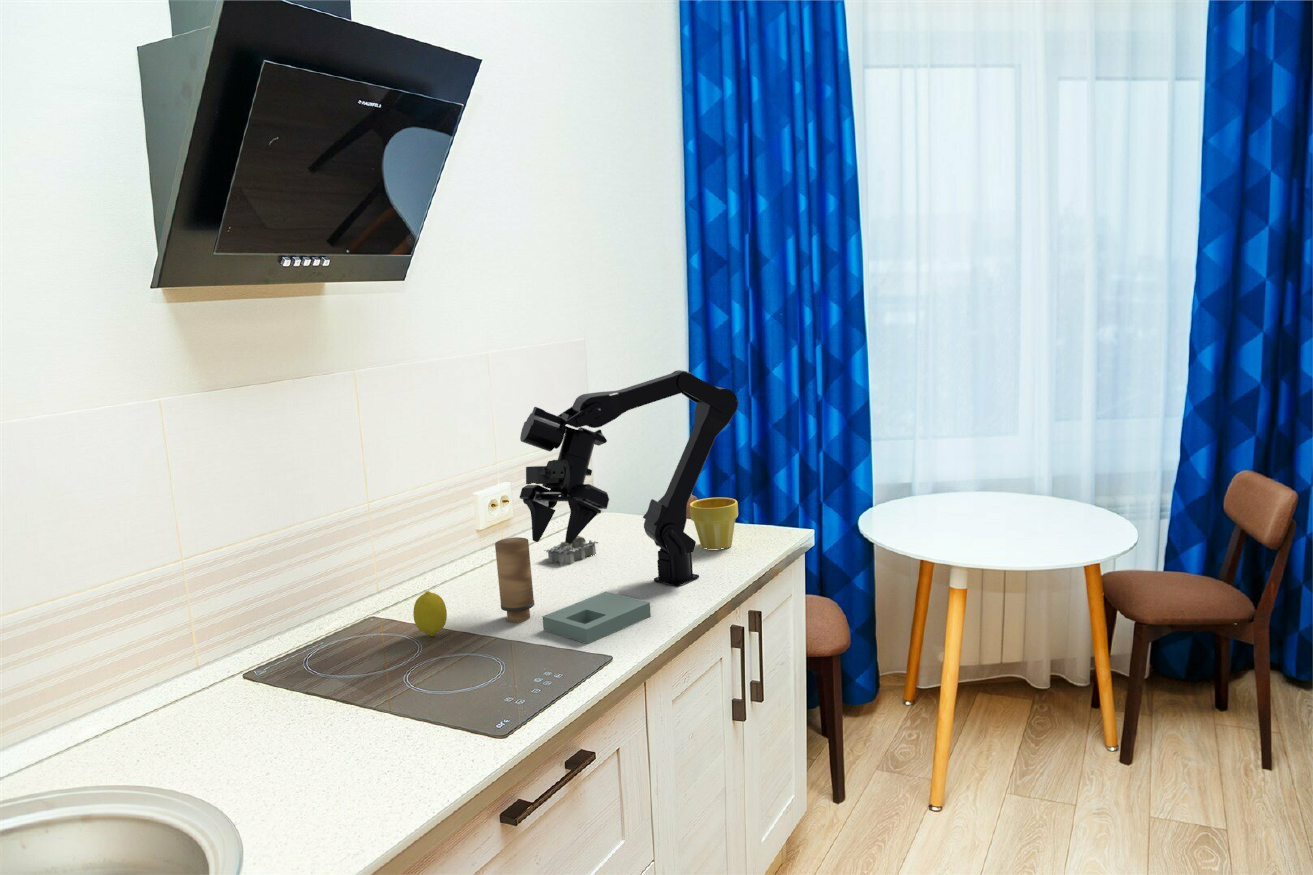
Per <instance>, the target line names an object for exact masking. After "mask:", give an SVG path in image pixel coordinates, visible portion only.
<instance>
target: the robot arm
mask: <svg viewBox="0 0 1313 875" xmlns="http://www.w3.org/2000/svg"><path fill="white" fill-rule="evenodd" d="M680 394H682V395H683V396H684V397H686V398H687V399H689V400H691V402H694V403H696V404H695V409H694V420H693V429H692V430H691V433H690V435H689V437H688V440H687V443H686V445H685V448H684V449H683V451H682V454H681V456H680V459H679V461H678V464H677V466H676V468H675V470H674V472H673V475H672V477H671V479H670V482H669V485H668V486H667V489H666V491H665V493H664V495H663V496H662V497H661V498H660V499H659V500H657V501H656V500H655V499H654V498H651V500H650V502H649V505H648V509H647V511H646V513H645V514H644V515H643V516H642V519H644V523H643V530H644V532H645V534H646V535H647V536H648V538H649V539H651V540H653V541H654V544H655V546H656V547H659V550H657V558H658V559H657V561H656V562H657V573H658V575H657V576H656V577H653V582H657V583H662V584H665V585H670V586H674V587H680V586H683V585H685V584H687V583H689V582H692V581H694V580H696V579H699V578H700V575H699V574H696V573H694V572H693V571H694V570H693V557H692V553H694V551H695V547H696V543H697V542H696V540H694V539H693V538H692V537H690V535H689V534H687V533H686V532H685V528H686V524H687V515H688V512H687V510H688V504H689V500H690V499H691V496H692V494H693V491H694V489H695V487H696V484H697V482H698V480H699V477H700V475H701V473H702V471H703V468H704V465H705V463H706V462H707V459H708V456H709V454H710V452H711V449H712V446H713V445H714V442H715V440H716V437H717V436H718V435H719V434H720V433H721V432H722V431H723V430H725V428H726V427H727V426H728V425H729V423H730V422H731V420H732V418H733V417H734V415H735V414H736V413H737V410H738V407H739V400H738V398H737V395H736V394H735V393H734V392H733V390H731V389H728V388H724V387H719V386H714V385H713V384H710V383H708V382H706V381H704V380H703V379H700V378H699V377H697V376H695V375H693V373H691V372H690V371H686V370H681V369H677V370H674V371H673V372H671V373H669V374H666V375H662V376H659V377H655V378H653V379H649V380H647V381H646V380H645V381H643V382H640V383H637V384H634V385H631V386H628V387H625V388H621V389H619V390H618V389H617V390H611V391H596V392H590V393H588V392H587V393H583V394H580V395H579V396H577V397H576V398H575V400H574V402H573V405H571V407H569V408H567V409H566V410H564V411H563V412H561V413H560V414H558V415H555V414H554V413H550V412H548V411H546V410H544V409H542V408H540V407H537V406H534V407H533V410H532V412H531V413H530V414H529V415H528V416H527V419H526V421H524V423H523V425H522V428H521V432H520V439H519V440H520V442H521V443H524V444H527V445H530V446H532V447H534V448H535V447H536V448H539V449H541V450H544V451H546V452H552V451H553V450H554V449H556V450H557V449H559V448H560V449H559V454H558V457H557V459H552V460H548V461H547V464H546V465H542V466H541V465H540V466H539V465H536V466H535V465H534V466H533V465H532V466H531V465H530V466H525V486H523V487H521V491H520V493H519V499H520V500H522V502H523V504H525V505H526V506H527V508H528V509H529V511H530V521H531V535H532V538H531V539H532V541H533V542H535V543H538V542H540V540H541V538H542V536H543V534H544V533H545V531H546V529H547V527H548V525H549V523H550V522H551V520H552V518H553V516H554V514H555V512H556V509H554V508H555V507H556V506H557V504H558V502H567V503H568V507H569V509H570V513H569V514H570V515H569V519H568V524H567V528H566V534H565V539H564V540H565V541H564V542H566V543H568V544H571V543H572V542H573V541H574V539H575V538H576V537H577V536H580V535H579V534H580V533H582V532H583V530H584V529H585V528H586V527H587V525H588V524H590V522H591V521H593V519H594V518H595V517H596V516H597V515H598V514H601V513H602V510H607V509H608V505H609V503H610V502H609V501H610V497H609V495H608V492H606V491H605V490H602V489H600V488H599V487H596V486H595V485H592V484H589V483H585V480H586V476H589V477H590V476H592V472H593V470H592V469H590V468H589V465H590V461H591V458H592V454H593V450H594V446H601V445H603V444H606V443H607V442H608V439H607V438H606V437H605V436H604V434H603V431H602V430H601V429H597V428H601V427H604V426H605V425H607V424H609V423H611V422H613V421H614V420H616V419H617V418H619V417H621V415H623V414H625V413H626V412H628V411H631V410H633V409H637V408H639V407H643V406H645V405H649V404H652V403H655V402H658V401H661V400H663V399H668V398H671V397H673V396H676V395H677V396H678V395H680ZM567 425H568V426H567ZM585 426H587V427H588V428H594V429H597V430H595V431H592V430H589V429H587V428H584V427H585ZM576 428H577V429H576Z"/></svg>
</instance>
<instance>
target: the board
mask: <svg viewBox="0 0 1313 875" xmlns="http://www.w3.org/2000/svg"><path fill="white" fill-rule="evenodd" d="M651 612H652V611H651V602H649V601H646V600H641V599H638V598H633V597H629V596H625V595H622V594H617V593H613V592H610V591H603V592H600V593H599V594H597V595H593V596H591V597H587V598H585V599H584V600H581V601H578V602H576V603H573V604H571V605H568V606H566V607H563V608H560V609H558V610H555V611H553V612H550V613H547V614H545V615H542V617H541V618H542V625H543V631H544V632H547V633H551V634H555V635H558V636H560V637H564V638H568V639H571V640H574V641H577V642H581V643H584V644H587V645H588V644H591V643H593V642H595V641H598V640H600V639H602V638H604V637H606V636H609V635H612V634H614V633H616V632H618V631H621V630H623V629H625V628H627V627H630V626H633V625H634V624H636V623H638V622H640V621H643V620H645V619H647V618H650V617H652V614H651Z"/></svg>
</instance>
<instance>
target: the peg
mask: <svg viewBox="0 0 1313 875" xmlns="http://www.w3.org/2000/svg"><path fill="white" fill-rule="evenodd" d="M529 544H530V543H529V538H526V537H521V536H520V537H506V538H502V539H500V540H497V541H495V543H494V546H495V558H496V559H495V560H496V567H497V578H498V580H497V581H498V587H499V588H498V589H499V597H500V599H499V600H500V610H502V611H504V612H506V617H507V621H508V622H510V623H521V622H526V621H528V620H529V619H531V611H530V609H531V608H533V607H534V606H535V600H534V599H535V598H534V589H533V578H532V577H533V575H532V564H531V557H530V556H531V554H530V553H531V552H530V545H529Z"/></svg>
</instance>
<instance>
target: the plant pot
mask: <svg viewBox="0 0 1313 875" xmlns="http://www.w3.org/2000/svg"><path fill="white" fill-rule="evenodd" d="M689 516H690V520H691V521H692V522H693V524H694V526H695V530H696V533H697V537H698V540H699V543H700V547H701V549H703V548H707V549H721V548H727V549H729V548H728V547H730V546H731V545H733V538H734V537H733V536H734V532H735V524H736V519H737V518H738V516H739V504H738V501H737V500H736V499H734V498H730V497H709V498H707V497H706V498H702V499H697V500H693V501H692V502H690V503H689ZM731 547H732V546H731ZM731 547H730V548H731Z"/></svg>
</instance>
